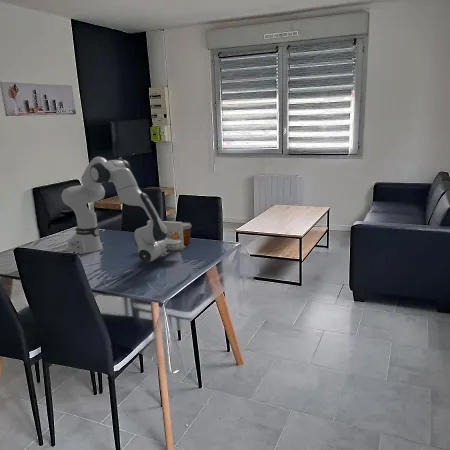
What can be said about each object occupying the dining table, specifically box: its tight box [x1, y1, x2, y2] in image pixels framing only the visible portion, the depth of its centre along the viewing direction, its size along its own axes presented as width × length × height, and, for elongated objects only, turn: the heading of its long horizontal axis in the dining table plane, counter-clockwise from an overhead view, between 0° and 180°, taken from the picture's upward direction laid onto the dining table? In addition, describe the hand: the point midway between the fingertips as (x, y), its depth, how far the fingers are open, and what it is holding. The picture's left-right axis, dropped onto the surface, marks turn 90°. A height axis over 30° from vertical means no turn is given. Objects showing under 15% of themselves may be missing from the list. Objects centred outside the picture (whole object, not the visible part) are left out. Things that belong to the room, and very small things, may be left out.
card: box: [160, 251, 170, 257], centre depth 240 cm, size 12×6×1 cm, turn 72°
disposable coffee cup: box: [182, 222, 192, 246], centre depth 258 cm, size 10×10×12 cm
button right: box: [170, 232, 179, 240], centre depth 246 cm, size 4×6×4 cm, turn 161°
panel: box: [146, 219, 187, 252], centre depth 249 cm, size 22×7×16 cm, turn 71°
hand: (169, 239), depth 239 cm, fingers closed
